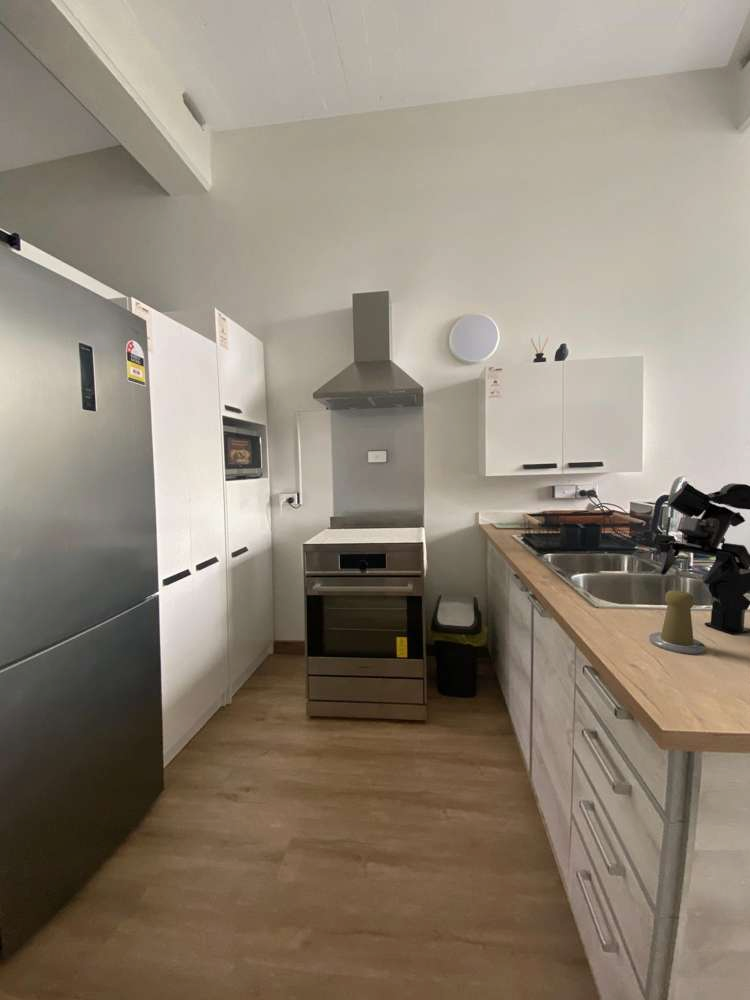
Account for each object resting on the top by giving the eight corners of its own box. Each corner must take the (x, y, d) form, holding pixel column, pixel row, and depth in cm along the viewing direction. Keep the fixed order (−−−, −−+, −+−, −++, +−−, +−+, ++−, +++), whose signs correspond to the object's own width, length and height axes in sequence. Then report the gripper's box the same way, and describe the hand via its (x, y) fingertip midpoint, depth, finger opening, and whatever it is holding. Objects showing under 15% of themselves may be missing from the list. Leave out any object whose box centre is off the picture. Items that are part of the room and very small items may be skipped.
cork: (701, 645, 92) (704, 595, 91) (675, 646, 91) (678, 596, 90) (677, 634, 98) (680, 587, 97) (653, 635, 97) (656, 588, 96)
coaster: (672, 633, 100) (672, 630, 100) (716, 651, 91) (716, 647, 91) (638, 638, 98) (638, 634, 98) (680, 656, 88) (680, 652, 88)
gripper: (658, 502, 108) (628, 548, 104) (749, 508, 91) (718, 564, 87) (674, 531, 112) (646, 577, 108) (764, 542, 95) (735, 597, 91)
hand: (682, 578), depth 98 cm, fingers open, 9 cm apart
